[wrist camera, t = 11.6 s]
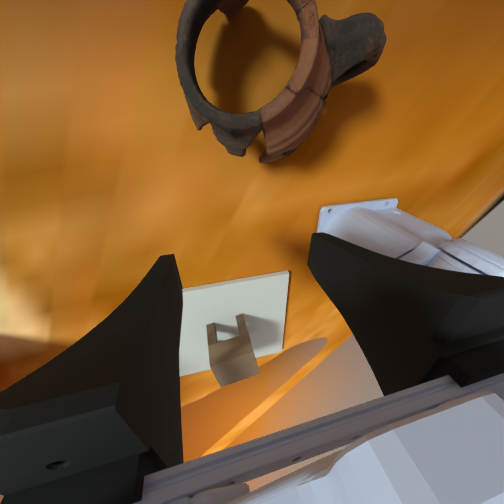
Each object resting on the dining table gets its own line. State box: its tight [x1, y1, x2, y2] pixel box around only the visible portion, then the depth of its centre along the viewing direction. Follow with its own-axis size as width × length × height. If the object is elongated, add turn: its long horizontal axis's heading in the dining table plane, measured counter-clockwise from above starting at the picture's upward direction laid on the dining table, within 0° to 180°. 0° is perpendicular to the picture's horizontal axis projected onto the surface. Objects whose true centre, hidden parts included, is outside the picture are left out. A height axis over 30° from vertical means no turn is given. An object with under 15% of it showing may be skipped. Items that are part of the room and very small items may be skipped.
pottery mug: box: [175, 0, 386, 163], centre depth 14 cm, size 12×10×8 cm
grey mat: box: [179, 270, 289, 377], centre depth 29 cm, size 16×16×1 cm
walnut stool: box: [206, 313, 259, 387], centre depth 27 cm, size 5×5×6 cm
